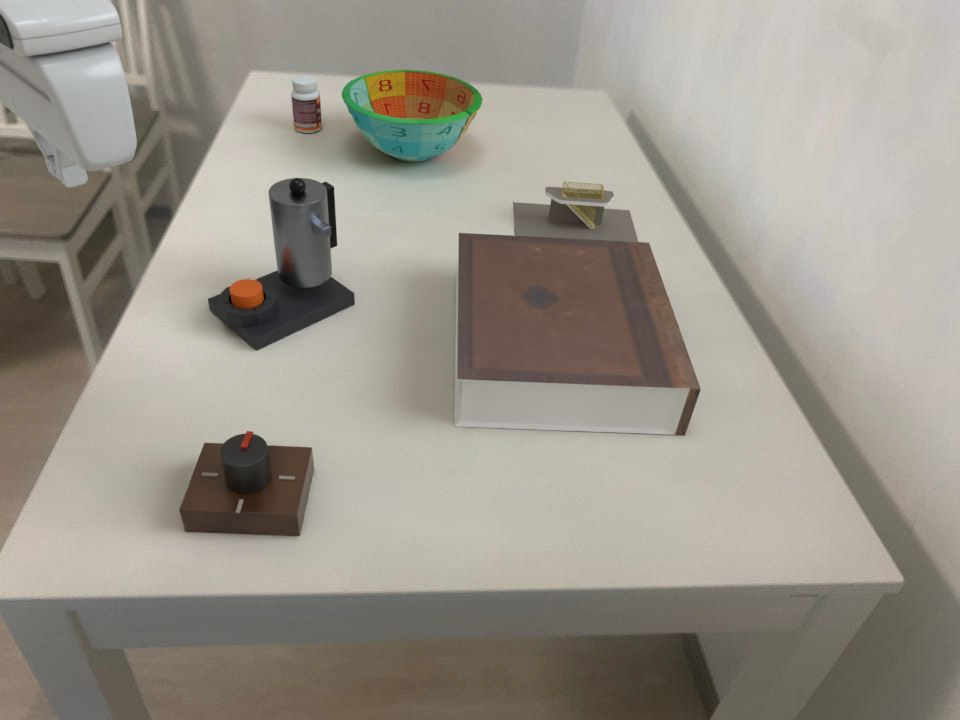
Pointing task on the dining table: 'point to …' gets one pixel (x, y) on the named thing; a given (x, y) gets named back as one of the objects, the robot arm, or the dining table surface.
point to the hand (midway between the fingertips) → (69, 179)
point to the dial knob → (245, 463)
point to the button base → (281, 309)
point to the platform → (575, 216)
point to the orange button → (246, 293)
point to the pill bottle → (306, 105)
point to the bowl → (411, 111)
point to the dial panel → (249, 495)
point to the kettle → (303, 230)
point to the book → (567, 338)
